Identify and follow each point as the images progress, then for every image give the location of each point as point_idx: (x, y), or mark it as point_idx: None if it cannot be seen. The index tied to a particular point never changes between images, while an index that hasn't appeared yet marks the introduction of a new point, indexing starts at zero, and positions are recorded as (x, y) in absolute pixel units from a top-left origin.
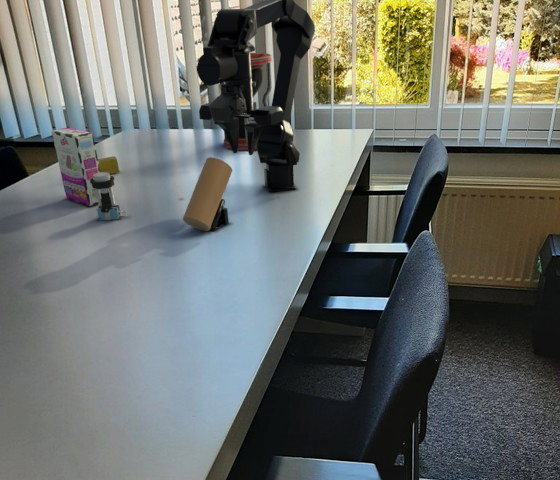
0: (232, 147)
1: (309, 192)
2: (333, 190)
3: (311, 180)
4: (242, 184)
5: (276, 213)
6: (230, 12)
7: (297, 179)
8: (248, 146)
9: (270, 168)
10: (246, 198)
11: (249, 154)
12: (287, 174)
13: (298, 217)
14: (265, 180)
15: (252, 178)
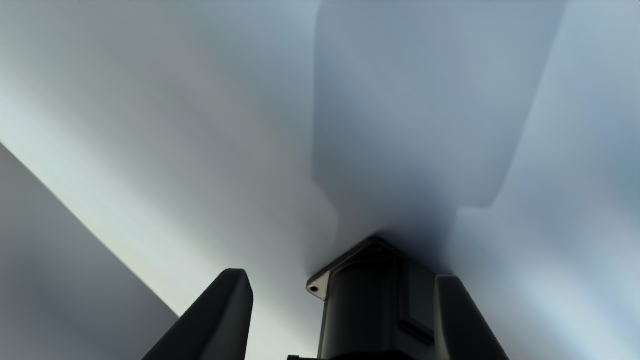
0: (464, 326)
1: None
2: None
3: None
4: (567, 271)
5: (150, 22)
6: None
7: None
8: (192, 344)
9: (387, 335)
10: (444, 139)
11: (232, 271)
12: (325, 327)
13: (23, 26)
14: (428, 289)
15: (554, 327)
